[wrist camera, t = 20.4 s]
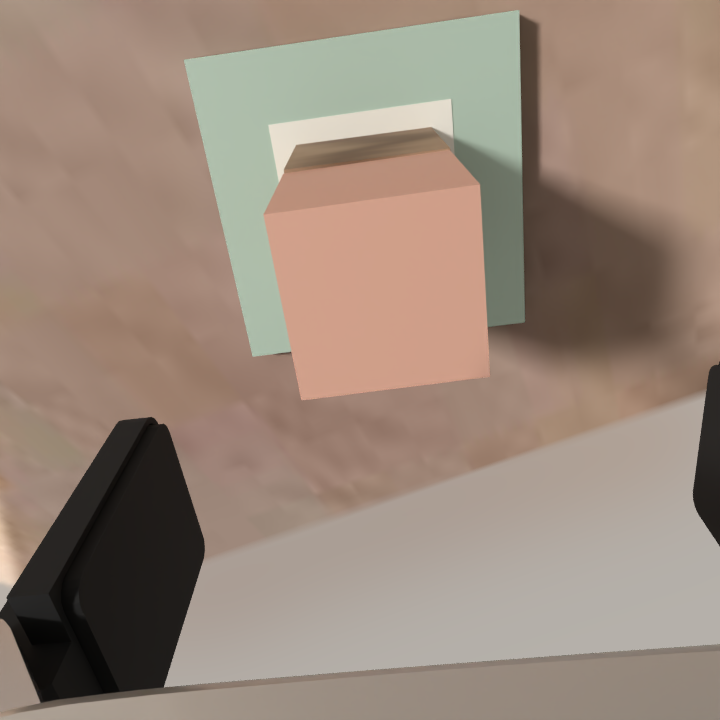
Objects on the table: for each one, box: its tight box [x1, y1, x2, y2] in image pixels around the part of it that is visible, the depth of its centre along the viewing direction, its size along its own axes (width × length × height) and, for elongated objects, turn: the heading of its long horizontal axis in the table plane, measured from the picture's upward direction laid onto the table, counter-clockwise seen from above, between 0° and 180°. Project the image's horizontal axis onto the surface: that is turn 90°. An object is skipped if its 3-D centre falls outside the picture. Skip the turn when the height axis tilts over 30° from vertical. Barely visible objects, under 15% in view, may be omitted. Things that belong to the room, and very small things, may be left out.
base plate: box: [184, 10, 525, 356], centre depth 30 cm, size 14×14×1 cm
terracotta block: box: [263, 150, 490, 400], centre depth 22 cm, size 6×6×6 cm
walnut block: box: [284, 127, 450, 173], centre depth 27 cm, size 6×6×6 cm
